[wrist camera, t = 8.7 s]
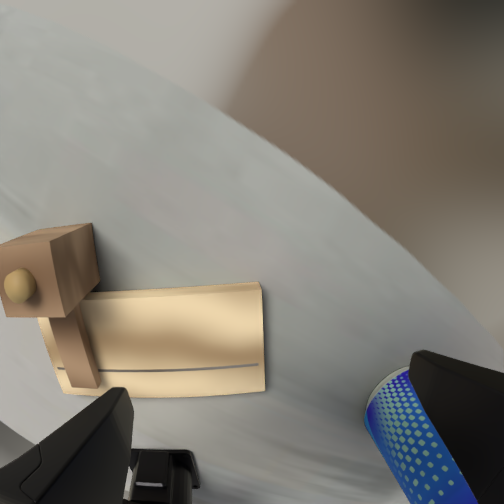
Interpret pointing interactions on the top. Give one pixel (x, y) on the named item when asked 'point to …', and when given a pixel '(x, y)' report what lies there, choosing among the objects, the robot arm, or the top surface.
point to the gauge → (54, 290)
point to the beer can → (413, 444)
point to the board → (172, 341)
